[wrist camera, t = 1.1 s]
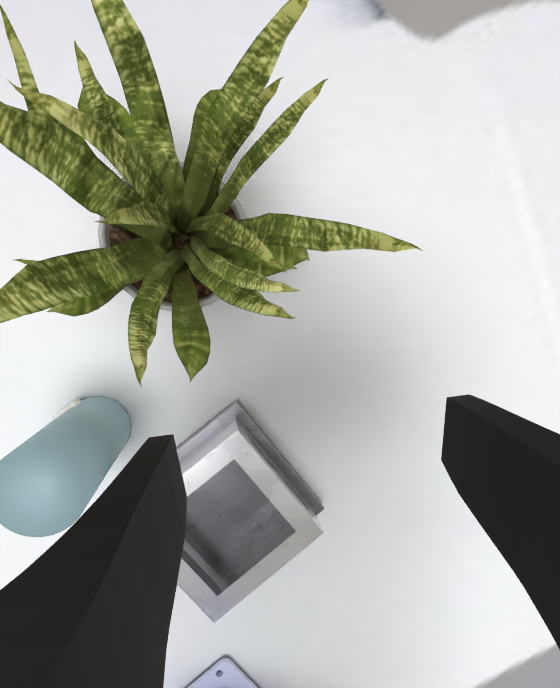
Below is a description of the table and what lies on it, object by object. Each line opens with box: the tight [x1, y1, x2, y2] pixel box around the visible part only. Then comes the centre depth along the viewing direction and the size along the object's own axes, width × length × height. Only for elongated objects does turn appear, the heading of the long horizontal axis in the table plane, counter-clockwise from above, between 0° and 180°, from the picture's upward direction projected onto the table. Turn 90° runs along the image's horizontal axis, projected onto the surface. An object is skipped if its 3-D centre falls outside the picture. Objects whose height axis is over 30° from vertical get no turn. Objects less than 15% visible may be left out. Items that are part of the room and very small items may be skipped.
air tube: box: [0, 396, 131, 537], centre depth 22 cm, size 4×4×9 cm
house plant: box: [0, 0, 423, 387], centre depth 18 cm, size 14×14×16 cm
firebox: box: [176, 400, 324, 623], centre depth 26 cm, size 10×10×4 cm
